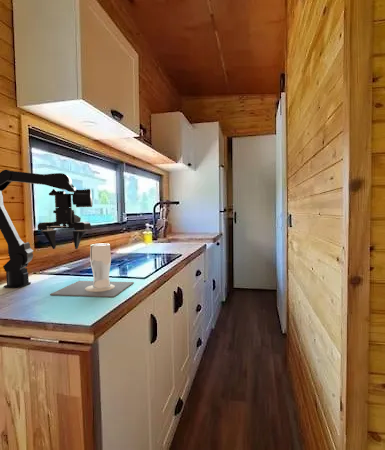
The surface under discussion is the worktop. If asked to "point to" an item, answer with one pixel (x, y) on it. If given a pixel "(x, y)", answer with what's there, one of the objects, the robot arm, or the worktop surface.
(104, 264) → the beer glass
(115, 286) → the slate mat
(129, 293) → the worktop surface
